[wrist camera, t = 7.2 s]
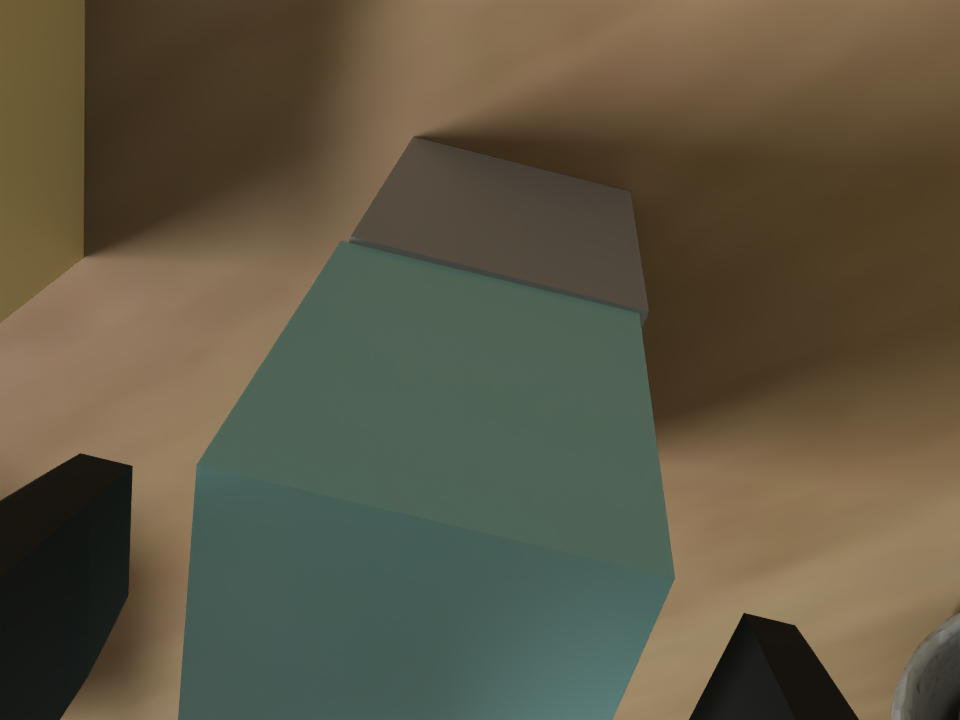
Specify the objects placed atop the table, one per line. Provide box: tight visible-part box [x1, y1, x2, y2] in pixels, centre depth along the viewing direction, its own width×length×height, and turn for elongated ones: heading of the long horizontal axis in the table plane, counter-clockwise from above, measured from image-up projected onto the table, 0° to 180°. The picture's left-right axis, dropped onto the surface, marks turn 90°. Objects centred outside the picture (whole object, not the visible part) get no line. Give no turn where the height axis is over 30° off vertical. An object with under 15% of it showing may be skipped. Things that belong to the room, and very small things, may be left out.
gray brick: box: [350, 137, 649, 329], centre depth 15 cm, size 6×4×5 cm, turn 167°
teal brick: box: [178, 241, 675, 720], centre depth 11 cm, size 6×4×5 cm, turn 167°
